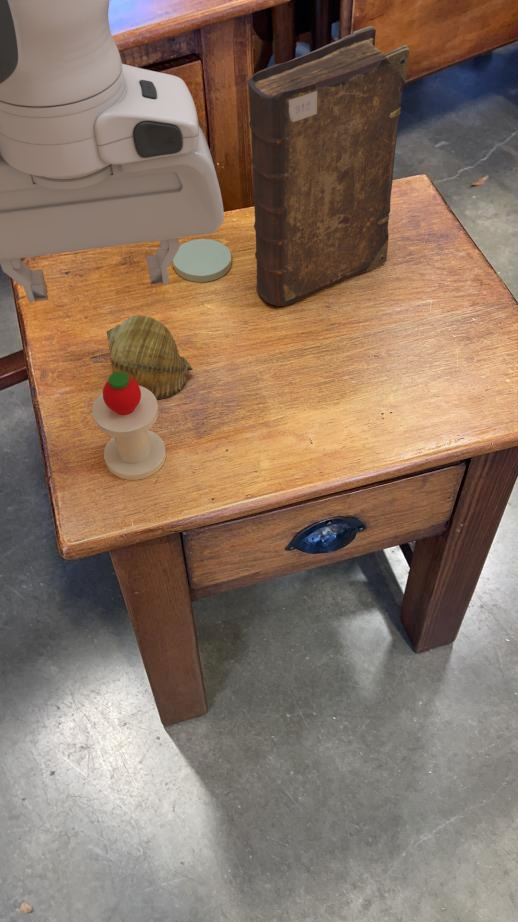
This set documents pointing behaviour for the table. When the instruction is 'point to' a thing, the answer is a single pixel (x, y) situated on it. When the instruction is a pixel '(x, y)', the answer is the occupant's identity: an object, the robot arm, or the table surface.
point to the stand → (131, 438)
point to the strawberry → (121, 393)
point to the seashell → (148, 355)
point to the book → (324, 164)
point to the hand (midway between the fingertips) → (99, 288)
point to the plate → (202, 260)
